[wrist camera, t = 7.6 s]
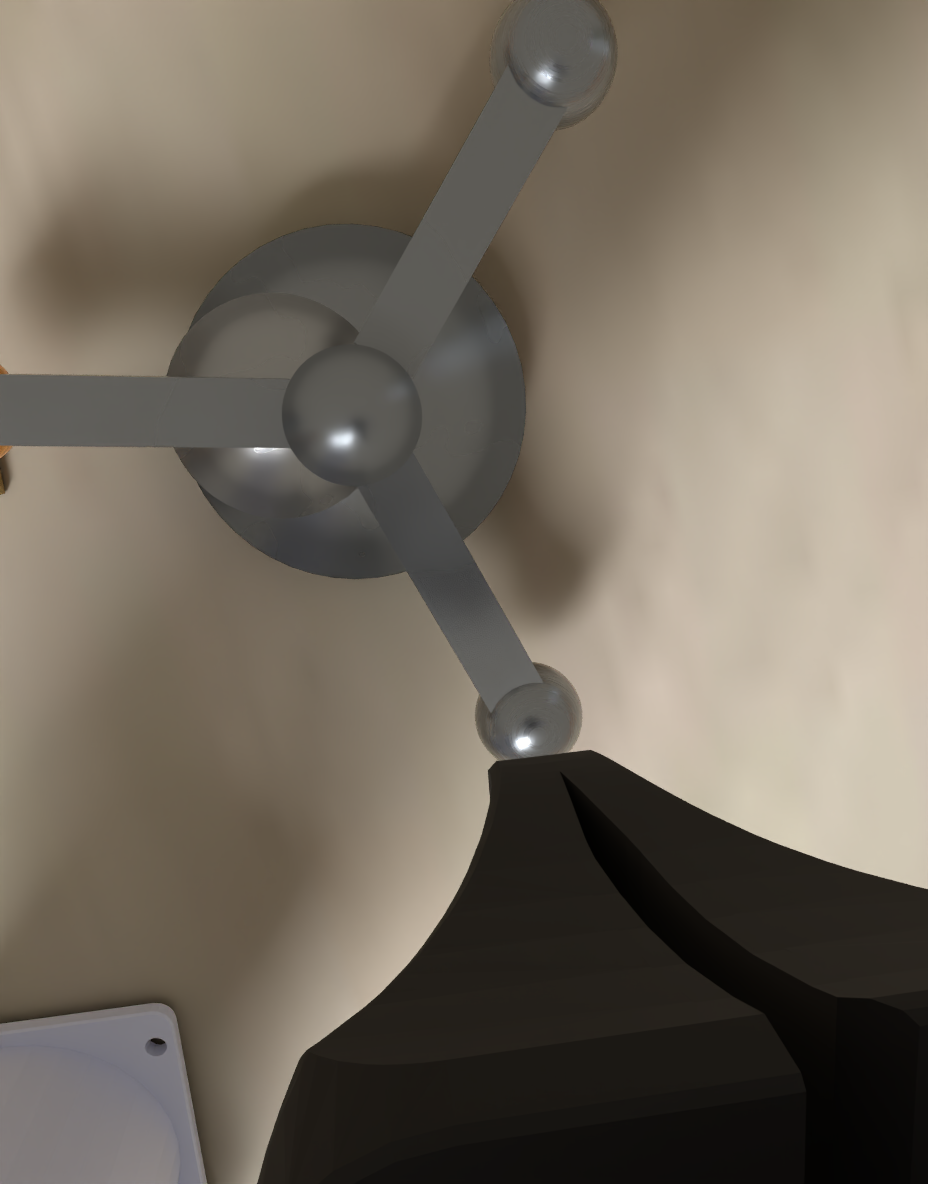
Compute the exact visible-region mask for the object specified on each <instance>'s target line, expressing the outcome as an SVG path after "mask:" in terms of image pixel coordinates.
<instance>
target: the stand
mask: <svg viewBox="0 0 928 1184" xmlns="http://www.w3.org/2000/svg"><path fill="white" fill-rule="evenodd" d="M4 493H5V490H4V485H3V480H2V475H1V470H0V495H1V494H4Z"/></svg>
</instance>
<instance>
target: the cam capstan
mask: <svg viewBox="0 0 928 1184" xmlns="http://www.w3.org/2000/svg"><path fill="white" fill-rule="evenodd" d="M489 62H490V73H491V78H492V82H493V86H494V91H493V93H492V95H491V96H490V98H489V100H488V102H487V104H486V105H485V107H484V109H483V111H482V113H481V114H480V116H479V118H478V120H477V122H476V123H475V125H474V127H473V129H472V131H471V132H470V134H469V136H468V138H467V140H466V141H465V143H464V145H463V147H462V149H461V150H460V152H459V154H458V156H457V158H456V159H455V161H454V163H453V165H452V167H451V168H450V170H449V172H448V174H447V176H446V177H445V179H444V181H443V183H442V185H441V186H440V188H439V190H438V192H437V194H436V195H435V197H434V199H433V201H432V203H431V204H430V206H429V208H428V210H427V212H426V213H425V215H424V217H423V219H422V221H421V222H420V224H419V226H418V228H417V230H416V231H415V233H414V235H413V237H411V236H408V235H406V234H403V233H400V232H397V231H393V230H389V229H385V228H381V227H377V226H368V225H358V224H333V225H324V226H318V227H312V228H306V229H303V230H299V231H296V232H293V233H290V234H287V235H284V236H281V237H279V238H277V239H275V240H273V241H271V242H269V243H267V244H265V245H263V246H261V247H259V248H258V249H256V250H255V251H253V252H252V253H251V254H249V255H248V256H246V257H245V258H243V259H242V260H240V261H239V262H238V263H237V264H236V265H235V266H234V267H233V268H232V269H230V270H229V271H228V272H227V273H226V274H225V275H224V276H223V277H222V278H221V279H220V281H219V282H218V283H217V284H216V285H215V287H214V288H213V289H212V290H211V291H210V293H209V294H208V295H207V297H206V298H205V300H204V302H203V303H202V305H201V307H200V308H199V310H198V311H197V313H196V315H195V317H194V319H193V321H192V324H191V326H190V328H189V331H188V333H187V334H186V335H185V336H184V338H183V339H182V341H181V343H180V344H179V346H178V347H177V349H176V351H175V353H174V356H173V358H172V360H171V363H170V366H169V369H168V373H167V376H110V375H51V374H9V373H8V372H7V371H6V370H5V369H4V368H3V367H2V366H1V365H0V458H1V457H3V456H4V455H5V454H6V453H7V452H8V451H9V450H10V449H11V448H12V446H95V447H174V448H175V451H176V453H177V454H178V456H179V458H180V460H181V462H182V463H183V465H184V466H185V468H186V469H187V470H188V472H189V473H190V474H191V476H192V477H193V478H194V479H195V480H196V481H197V483H198V485H199V487H200V488H201V490H202V492H203V494H204V496H205V497H206V498H207V500H208V501H209V502H210V504H211V505H212V506H213V508H214V509H215V511H216V512H217V513H218V515H219V516H220V517H221V518H222V519H223V520H224V521H225V522H226V523H227V524H228V525H229V526H230V527H231V528H232V529H233V530H234V531H235V532H236V533H237V534H238V535H240V536H241V537H242V538H243V539H245V540H246V541H247V542H248V543H249V544H251V545H252V546H253V547H255V548H257V549H258V550H260V551H261V552H263V553H265V554H266V555H268V556H269V557H271V558H273V559H275V560H278V561H280V562H282V563H284V564H286V565H288V566H290V567H293V568H296V569H299V570H303V571H306V572H309V573H312V574H317V575H322V576H328V577H333V578H347V579H364V578H378V577H383V576H388V575H393V574H398V573H402V572H405V571H407V572H408V574H409V576H410V577H411V579H412V581H413V582H414V584H415V586H416V588H417V589H418V591H419V593H420V594H421V596H422V598H423V599H424V601H425V603H426V604H427V606H428V608H429V609H430V611H431V613H432V615H433V616H434V618H435V620H436V621H437V623H438V625H439V626H440V628H441V630H442V631H443V633H444V635H445V636H446V638H447V640H448V642H449V643H450V645H451V647H452V648H453V650H454V652H455V653H456V655H457V657H458V658H459V660H460V662H461V663H462V665H463V667H464V669H465V670H466V672H467V674H468V675H469V677H470V679H471V680H472V682H473V684H474V685H475V687H476V689H477V691H478V692H479V697H478V700H477V704H476V709H475V721H476V727H477V731H478V734H479V737H480V739H481V741H482V743H483V745H484V746H485V747H486V749H487V750H488V751H489V752H490V753H491V754H492V755H493V756H494V757H495V758H496V759H497V760H499V761H501V760H510V759H518V758H527V757H535V756H544V755H552V754H561V753H568V752H569V751H570V750H571V749H572V747H573V746H574V745H575V743H576V741H577V739H578V736H579V734H580V730H581V726H582V707H581V702H580V699H579V696H578V694H577V692H576V690H575V688H574V687H573V685H572V684H571V683H570V681H569V680H568V679H567V678H566V677H565V676H564V675H563V674H561V673H560V672H559V671H557V670H556V669H554V668H552V667H550V666H547V665H544V664H541V663H536V662H532V661H531V660H530V658H529V656H528V654H527V653H526V651H525V649H524V647H523V646H522V644H521V642H520V640H519V638H518V637H517V635H516V633H515V631H514V630H513V628H512V626H511V624H510V623H509V621H508V619H507V617H506V616H505V614H504V612H503V610H502V608H501V607H500V605H499V603H498V601H497V600H496V598H495V596H494V594H493V593H492V591H491V589H490V587H489V586H488V584H487V582H486V580H485V578H484V577H483V575H482V573H481V571H480V570H479V568H478V566H477V564H476V563H475V561H474V559H473V557H472V555H471V554H470V552H469V550H468V548H467V547H466V545H465V543H464V541H463V540H464V539H465V538H466V537H467V536H469V535H470V534H471V533H472V532H473V531H474V530H475V529H476V528H477V527H478V526H479V525H480V524H481V523H482V521H483V520H484V519H485V518H486V517H487V516H488V515H489V513H490V512H491V510H492V509H493V508H494V506H495V505H496V503H497V502H498V500H499V499H500V497H501V496H502V494H503V492H504V490H505V488H506V486H507V484H508V482H509V480H510V478H511V476H512V473H513V471H514V468H515V465H516V462H517V460H518V457H519V453H520V449H521V444H522V440H523V435H524V426H525V416H526V399H525V385H524V378H523V372H522V366H521V363H520V359H519V356H518V352H517V349H516V345H515V343H514V340H513V338H512V336H511V334H510V331H509V329H508V327H507V324H506V322H505V321H504V319H503V317H502V316H501V314H500V312H499V311H498V309H497V307H496V305H495V304H494V302H493V301H492V300H491V298H490V297H489V296H488V295H487V293H486V292H485V291H484V289H483V288H482V287H481V286H480V284H479V283H478V282H477V281H476V280H475V279H474V278H473V277H472V274H473V273H474V271H475V269H476V267H477V266H478V264H479V262H480V260H481V259H482V257H483V255H484V253H485V252H486V250H487V248H488V246H489V245H490V243H491V241H492V239H493V238H494V236H495V234H496V232H497V231H498V229H499V227H500V225H501V224H502V222H503V220H504V218H505V217H506V215H507V213H508V211H509V210H510V208H511V206H512V204H513V203H514V201H515V199H516V197H517V196H518V194H519V192H520V190H521V189H522V187H523V185H524V183H525V182H526V180H527V178H528V176H529V175H530V173H531V171H532V169H533V168H534V166H535V164H536V162H537V161H538V159H539V157H540V155H541V154H542V152H543V150H544V148H545V147H546V145H547V143H548V141H549V140H550V138H551V136H552V134H553V133H554V131H555V130H560V129H565V128H568V127H571V126H574V125H576V124H578V123H580V122H581V121H582V120H584V119H585V118H587V117H588V116H589V115H590V114H591V113H593V112H594V111H595V110H596V108H597V107H598V106H599V105H600V104H601V102H602V101H603V99H604V98H605V96H606V94H607V93H608V91H609V89H610V87H611V84H612V81H613V78H614V74H615V70H616V65H617V41H616V35H615V31H614V27H613V25H612V22H611V19H610V17H609V15H608V13H607V12H606V10H605V9H604V7H603V6H602V5H601V3H600V2H599V1H598V0H514V1H513V2H512V3H511V4H510V5H509V6H508V7H507V9H506V10H505V12H504V13H503V15H502V16H501V18H500V20H499V22H498V24H497V26H496V28H495V31H494V34H493V37H492V42H491V47H490V57H489Z"/></svg>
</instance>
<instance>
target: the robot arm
mask: <svg viewBox="0 0 928 1184" xmlns="http://www.w3.org/2000/svg"><path fill="white" fill-rule="evenodd" d="M488 778H489V792H490V805H489V809H488V813H487V817H486V821H485V824H484V828H483V832H482V835H481V838H480V841H479V844H478V846H477V849H476V851H475V854H474V856H473V859H472V861H471V864H470V866H469V869H468V871H467V874H466V876H465V878H464V880H463V882H462V884H461V886H460V888H459V890H458V892H457V894H456V895H455V897H454V899H453V901H452V902H451V904H450V906H449V908H448V909H447V911H446V913H445V914H444V916H443V918H442V919H441V920H440V922H439V923H438V925H437V926H436V928H435V929H434V931H433V932H432V933H431V935H430V936H429V938H428V939H427V941H426V942H425V943H424V945H423V946H422V948H421V949H420V950H419V951H418V953H417V954H416V955H415V956H414V958H413V959H412V960H411V961H410V963H409V964H408V965H407V966H406V967H405V968H404V969H403V970H402V971H401V972H400V973H399V974H398V976H397V977H396V978H395V979H394V980H393V981H392V982H391V983H390V984H389V985H388V986H387V987H386V988H385V989H384V990H383V991H382V992H381V993H380V994H379V995H378V996H377V997H376V998H375V999H373V1000H372V1001H371V1002H370V1003H369V1004H368V1005H367V1006H365V1007H364V1008H363V1009H362V1010H360V1011H359V1012H358V1013H356V1014H355V1015H354V1016H352V1017H351V1018H350V1019H348V1020H347V1021H346V1022H345V1023H343V1024H342V1025H341V1026H339V1027H338V1028H337V1029H335V1030H334V1031H333V1032H331V1033H330V1034H329V1035H327V1036H326V1037H325V1038H324V1039H322V1040H321V1041H319V1042H318V1043H317V1044H315V1045H314V1046H312V1047H311V1048H309V1049H308V1050H306V1052H305V1053H304V1054H303V1055H302V1056H301V1058H300V1060H299V1062H298V1064H297V1067H296V1069H295V1072H294V1074H293V1077H292V1079H291V1082H290V1085H289V1087H288V1090H287V1092H286V1095H285V1098H284V1100H283V1103H282V1106H281V1108H280V1111H279V1114H278V1117H277V1120H276V1123H275V1126H274V1129H273V1132H272V1135H271V1138H270V1141H269V1144H268V1147H267V1150H266V1153H265V1157H264V1161H263V1164H262V1168H261V1172H260V1176H259V1179H258V1183H257V1184H928V889H924V888H920V887H915V886H912V885H908V884H904V883H900V882H897V881H893V880H889V879H885V878H881V877H878V876H874V875H870V874H866V873H862V872H859V871H855V870H852V869H849V868H846V867H842V866H839V865H836V864H833V863H829V862H826V861H824V860H821V859H818V858H815V857H812V856H810V855H807V854H804V853H801V852H799V851H796V850H793V849H790V848H787V847H785V846H782V845H779V844H776V843H774V842H771V841H769V840H767V839H764V838H762V837H759V836H757V835H754V834H752V833H750V832H748V831H746V830H743V829H741V828H739V827H737V826H735V825H733V824H730V823H728V822H726V821H724V820H722V819H720V818H717V817H715V816H713V815H711V814H709V813H707V812H705V811H703V810H701V809H699V808H697V807H695V806H693V805H691V804H689V803H687V802H686V801H684V800H682V799H680V798H678V797H676V796H674V795H673V794H671V793H669V792H667V791H665V790H663V789H662V788H660V787H658V786H656V785H654V784H653V783H651V782H649V781H647V780H646V779H644V778H642V777H640V776H639V775H637V774H635V773H633V772H632V771H630V770H628V769H626V768H625V767H623V766H621V765H619V764H618V763H616V762H614V761H612V760H611V759H609V758H607V757H605V756H603V755H601V754H599V753H597V752H594V751H592V750H586V751H578V752H569V753H561V754H552V755H544V756H535V757H527V758H518V759H510V760H501V761H496V762H495V763H494V764H493V765H492V767H491V768H490V769H489V770H488ZM153 1038H160V1039H162V1040H164V1041H165V1042H166V1043H164V1044H155V1043H153V1042H151V1040H150V1039H153ZM0 1184H207V1180H206V1174H205V1169H204V1164H203V1158H202V1153H201V1147H200V1142H199V1137H198V1131H197V1126H196V1120H195V1115H194V1110H193V1104H192V1099H191V1093H190V1088H189V1083H188V1077H187V1072H186V1066H185V1061H184V1056H183V1050H182V1045H181V1039H180V1034H179V1029H178V1023H177V1018H176V1015H175V1013H174V1011H173V1010H172V1009H171V1008H170V1007H169V1006H167V1005H164V1004H161V1003H149V1004H142V1005H135V1006H127V1007H120V1008H113V1009H105V1010H98V1011H91V1012H83V1013H76V1014H69V1015H61V1016H54V1017H47V1018H39V1019H32V1020H25V1021H17V1022H10V1023H3V1024H0Z"/></svg>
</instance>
